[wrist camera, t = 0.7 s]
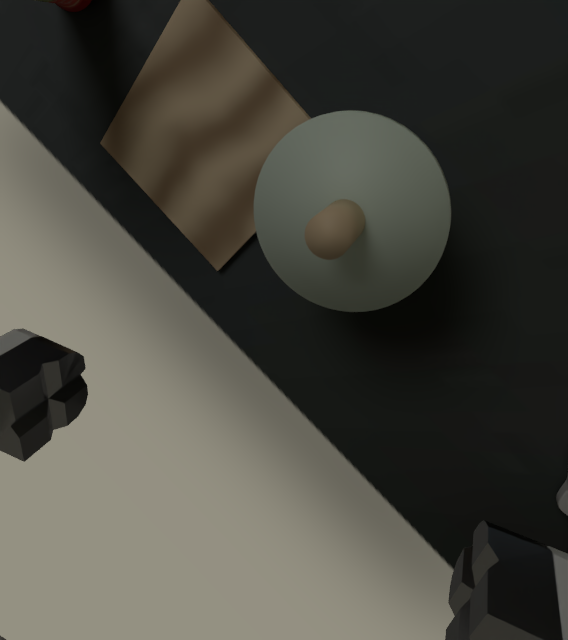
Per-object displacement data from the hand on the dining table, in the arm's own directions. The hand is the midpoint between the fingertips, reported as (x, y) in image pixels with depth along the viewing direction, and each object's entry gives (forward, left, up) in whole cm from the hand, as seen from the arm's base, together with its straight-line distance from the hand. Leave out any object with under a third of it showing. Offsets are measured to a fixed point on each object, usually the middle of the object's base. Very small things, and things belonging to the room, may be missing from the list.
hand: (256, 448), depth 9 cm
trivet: (+16, +14, -35) cm, 41 cm away
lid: (+2, +5, -26) cm, 26 cm away
